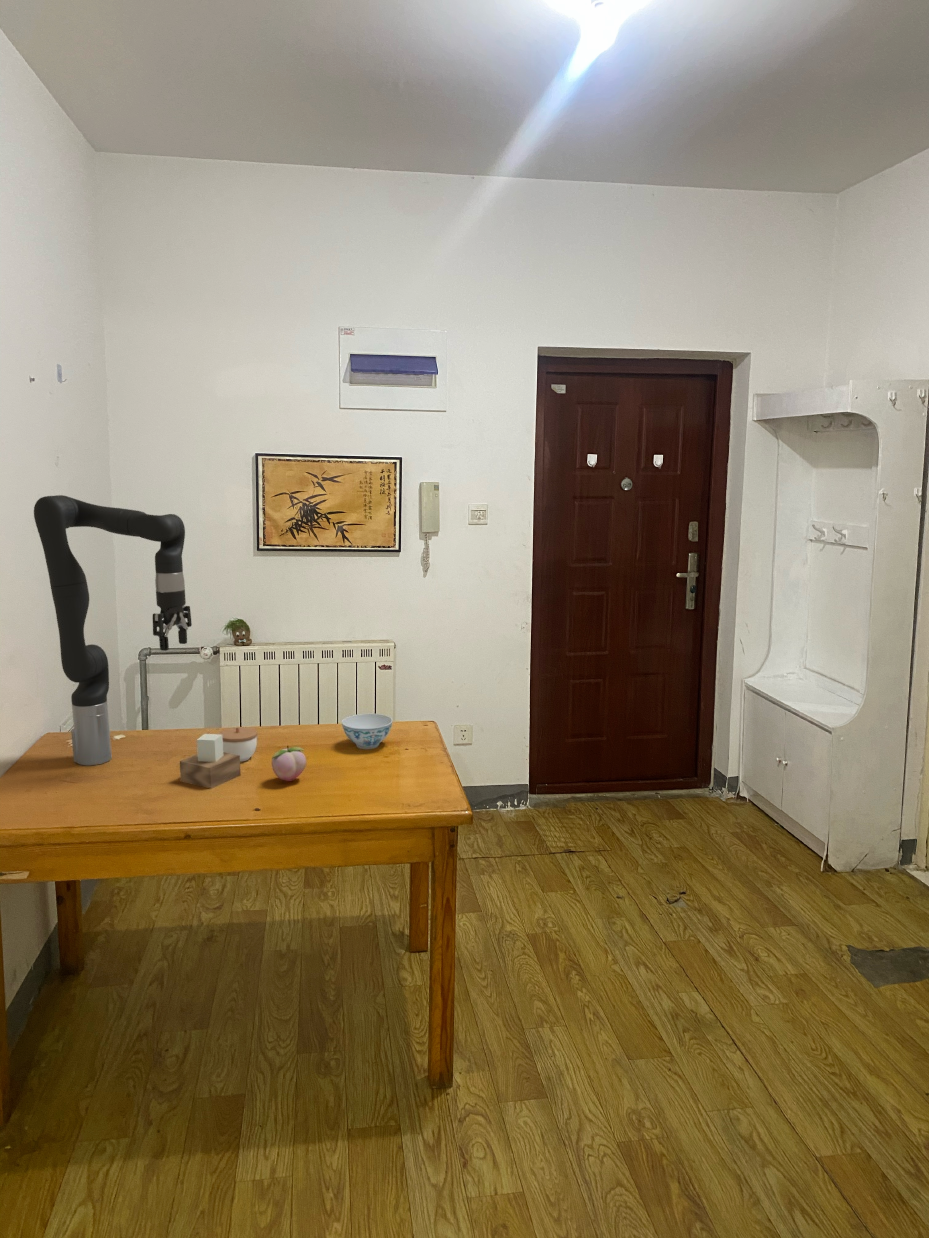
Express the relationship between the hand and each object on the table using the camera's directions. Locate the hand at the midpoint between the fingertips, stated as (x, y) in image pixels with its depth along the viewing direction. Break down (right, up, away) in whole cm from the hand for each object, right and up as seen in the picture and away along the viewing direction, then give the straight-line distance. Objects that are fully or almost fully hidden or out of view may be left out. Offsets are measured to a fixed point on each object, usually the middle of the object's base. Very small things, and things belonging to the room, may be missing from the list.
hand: (173, 646), depth 245 cm
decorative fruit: (+33, -36, -6) cm, 49 cm away
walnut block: (+11, -36, -4) cm, 38 cm away
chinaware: (+51, -30, +22) cm, 63 cm away
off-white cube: (+12, -30, -5) cm, 32 cm away
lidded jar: (+15, -33, +11) cm, 38 cm away
